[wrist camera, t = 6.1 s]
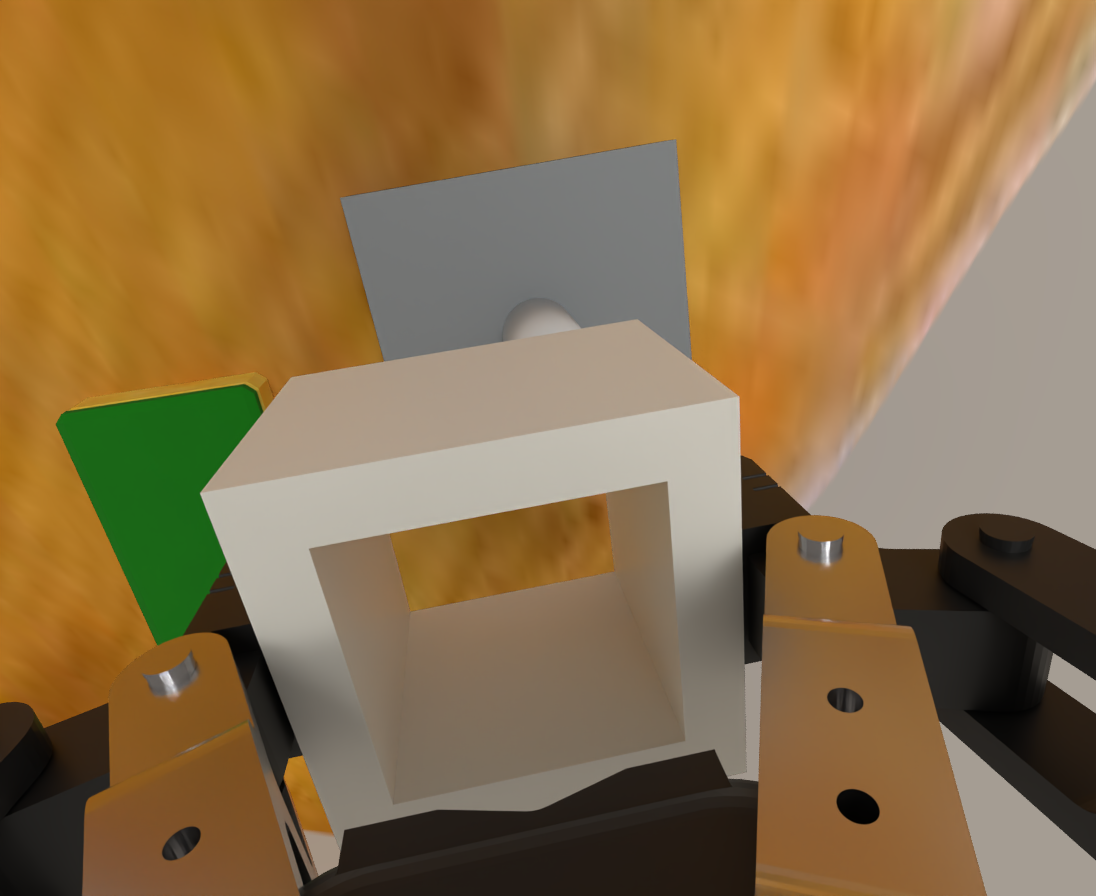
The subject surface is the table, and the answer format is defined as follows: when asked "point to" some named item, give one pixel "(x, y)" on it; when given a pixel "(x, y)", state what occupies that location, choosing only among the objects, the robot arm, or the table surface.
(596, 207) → the post stand
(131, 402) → the dish sponge
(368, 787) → the ring
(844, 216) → the table surface
